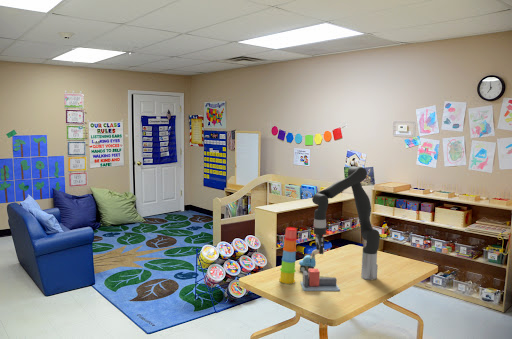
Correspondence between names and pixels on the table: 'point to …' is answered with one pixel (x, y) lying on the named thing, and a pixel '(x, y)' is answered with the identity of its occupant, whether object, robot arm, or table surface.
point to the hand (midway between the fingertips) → (319, 251)
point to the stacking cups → (289, 256)
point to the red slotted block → (313, 277)
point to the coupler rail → (322, 280)
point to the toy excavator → (308, 261)
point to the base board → (320, 288)
